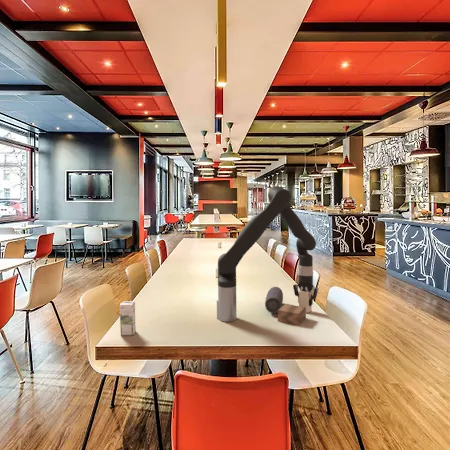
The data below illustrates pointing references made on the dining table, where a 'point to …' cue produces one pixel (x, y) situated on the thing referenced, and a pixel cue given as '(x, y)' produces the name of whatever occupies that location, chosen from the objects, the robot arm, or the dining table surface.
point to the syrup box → (127, 318)
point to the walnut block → (292, 314)
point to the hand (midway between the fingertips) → (305, 304)
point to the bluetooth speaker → (274, 299)
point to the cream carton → (304, 300)
